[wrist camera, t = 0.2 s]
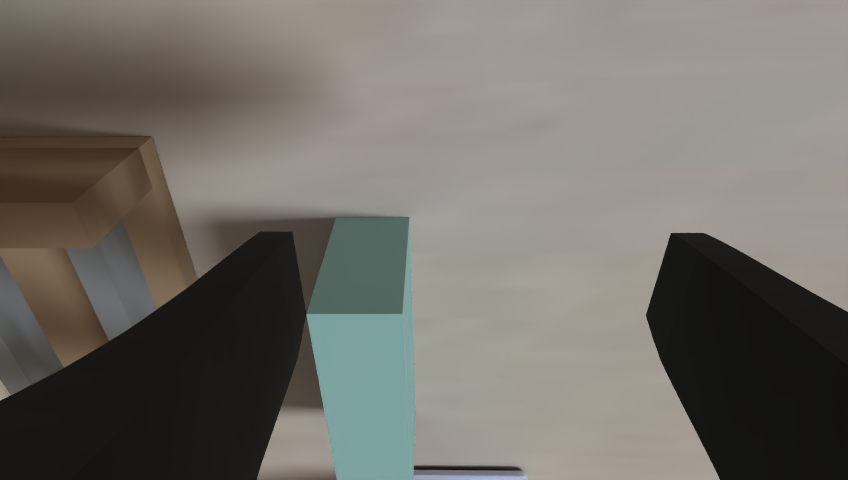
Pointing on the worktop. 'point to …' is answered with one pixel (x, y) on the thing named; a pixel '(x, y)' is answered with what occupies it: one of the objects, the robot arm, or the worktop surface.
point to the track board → (81, 248)
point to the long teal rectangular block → (366, 347)
